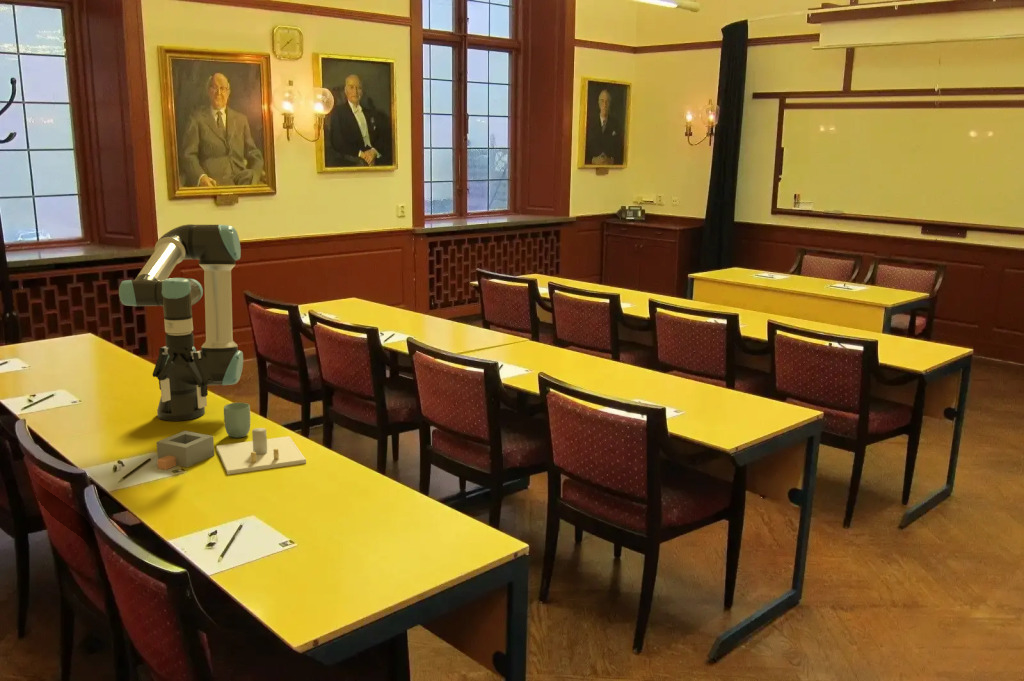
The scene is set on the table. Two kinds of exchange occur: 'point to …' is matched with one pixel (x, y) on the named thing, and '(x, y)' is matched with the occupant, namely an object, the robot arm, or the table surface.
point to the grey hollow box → (184, 449)
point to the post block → (259, 453)
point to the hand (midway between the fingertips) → (184, 404)
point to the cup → (237, 419)
